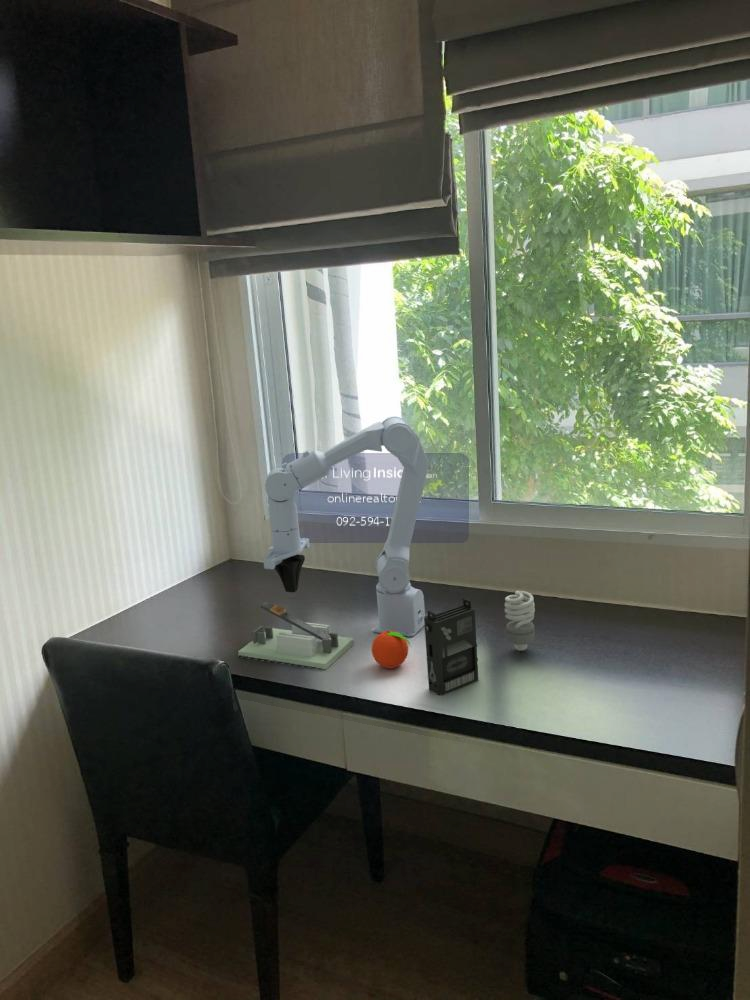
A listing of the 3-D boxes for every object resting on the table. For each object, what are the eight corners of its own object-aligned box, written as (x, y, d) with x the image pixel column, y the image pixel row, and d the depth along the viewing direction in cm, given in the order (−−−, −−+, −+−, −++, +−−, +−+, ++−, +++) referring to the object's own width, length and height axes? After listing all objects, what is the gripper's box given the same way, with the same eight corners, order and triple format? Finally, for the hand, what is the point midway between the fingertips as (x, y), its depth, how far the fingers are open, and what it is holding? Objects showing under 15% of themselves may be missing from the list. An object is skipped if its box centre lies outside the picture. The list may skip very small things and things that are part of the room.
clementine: (420, 661, 153) (418, 626, 151) (405, 677, 147) (403, 641, 145) (382, 656, 157) (379, 622, 155) (366, 671, 151) (363, 636, 149)
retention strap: (333, 640, 159) (335, 635, 159) (328, 645, 157) (330, 640, 157) (265, 604, 164) (267, 599, 164) (259, 608, 162) (261, 603, 162)
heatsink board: (354, 643, 163) (352, 622, 162) (325, 669, 153) (323, 647, 152) (271, 633, 172) (268, 612, 171) (238, 656, 161) (236, 635, 160)
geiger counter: (467, 669, 148) (463, 593, 145) (483, 678, 145) (479, 600, 141) (422, 687, 143) (416, 609, 139) (438, 697, 139) (432, 616, 135)
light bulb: (533, 658, 151) (531, 598, 148) (503, 656, 153) (501, 596, 150) (538, 645, 156) (536, 587, 153) (509, 643, 158) (507, 586, 155)
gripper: (286, 517, 170) (293, 577, 174) (247, 537, 158) (255, 601, 161) (315, 518, 167) (321, 580, 171) (278, 539, 155) (285, 605, 158)
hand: (291, 591), depth 166 cm, fingers closed
